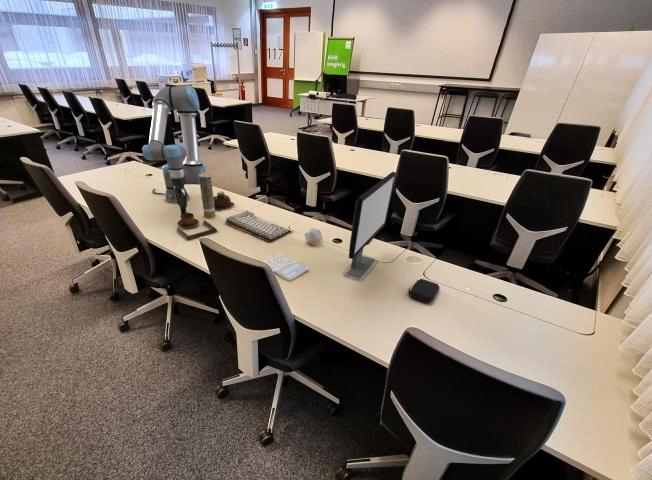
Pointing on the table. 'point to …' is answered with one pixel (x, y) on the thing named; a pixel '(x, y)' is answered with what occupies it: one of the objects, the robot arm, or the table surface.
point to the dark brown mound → (222, 201)
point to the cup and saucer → (187, 221)
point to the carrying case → (424, 290)
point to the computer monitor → (368, 224)
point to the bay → (212, 230)
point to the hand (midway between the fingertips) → (184, 218)
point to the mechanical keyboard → (256, 226)
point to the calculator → (285, 266)
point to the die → (313, 236)
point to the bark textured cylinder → (207, 195)
